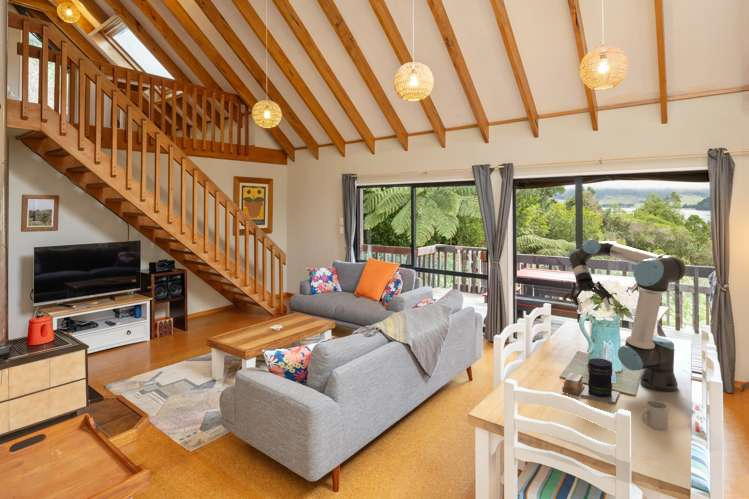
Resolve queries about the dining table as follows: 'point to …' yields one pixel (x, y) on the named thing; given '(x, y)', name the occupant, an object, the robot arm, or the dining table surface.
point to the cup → (655, 415)
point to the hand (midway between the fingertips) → (594, 310)
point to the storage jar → (600, 378)
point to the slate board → (608, 400)
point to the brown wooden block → (573, 384)
